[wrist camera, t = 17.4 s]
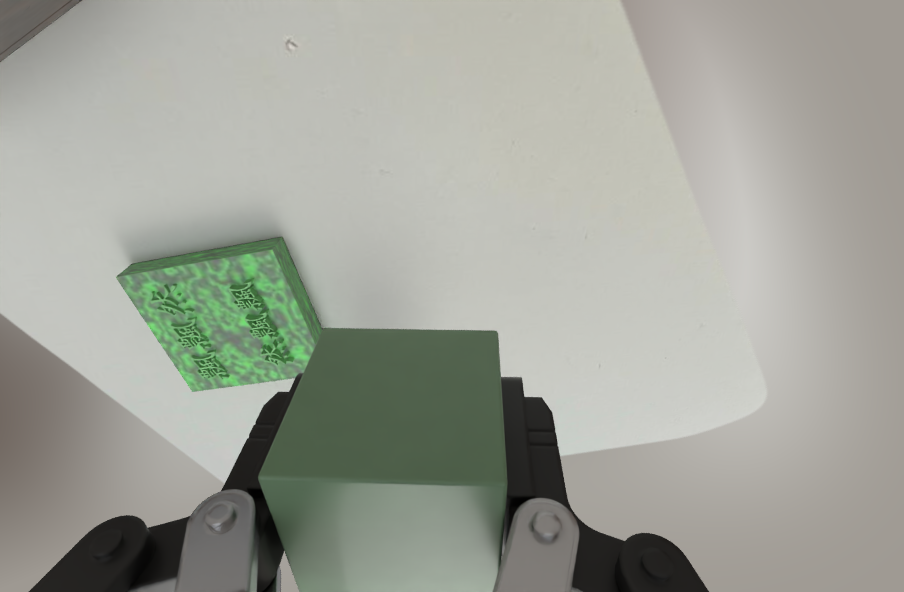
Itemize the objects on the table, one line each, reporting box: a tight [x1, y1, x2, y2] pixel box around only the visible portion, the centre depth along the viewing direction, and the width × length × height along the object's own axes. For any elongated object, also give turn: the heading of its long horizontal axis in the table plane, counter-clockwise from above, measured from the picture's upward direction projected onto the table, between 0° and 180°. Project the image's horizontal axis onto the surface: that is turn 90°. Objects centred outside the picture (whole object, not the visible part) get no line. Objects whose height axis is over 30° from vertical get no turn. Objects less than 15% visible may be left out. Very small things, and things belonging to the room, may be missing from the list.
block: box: [258, 328, 508, 592], centre depth 12 cm, size 4×4×4 cm
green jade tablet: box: [116, 237, 322, 392], centre depth 37 cm, size 11×12×2 cm
